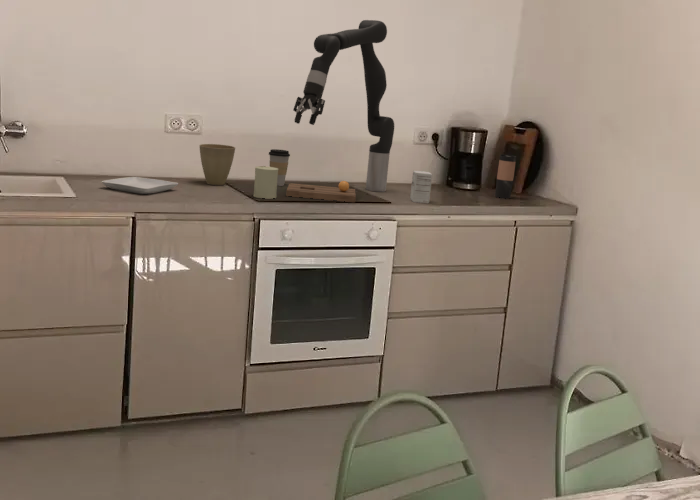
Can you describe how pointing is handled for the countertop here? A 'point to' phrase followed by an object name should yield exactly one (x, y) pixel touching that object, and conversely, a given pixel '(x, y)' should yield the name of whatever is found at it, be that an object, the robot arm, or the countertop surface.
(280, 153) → the coffee cup
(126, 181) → the salad plate
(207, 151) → the plant pot
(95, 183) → the countertop surface
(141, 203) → the countertop surface
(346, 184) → the ball
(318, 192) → the wooden cutting board
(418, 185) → the supplement box
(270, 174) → the can
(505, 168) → the travel mug
